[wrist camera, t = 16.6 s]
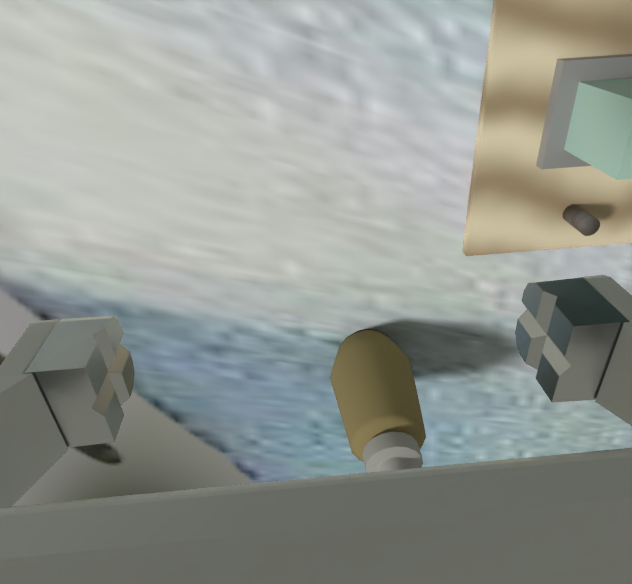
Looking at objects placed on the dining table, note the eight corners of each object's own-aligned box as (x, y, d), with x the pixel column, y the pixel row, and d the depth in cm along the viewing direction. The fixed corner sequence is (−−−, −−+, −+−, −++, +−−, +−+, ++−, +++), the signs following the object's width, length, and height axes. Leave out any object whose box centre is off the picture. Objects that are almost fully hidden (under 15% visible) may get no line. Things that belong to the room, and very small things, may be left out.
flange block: (557, 59, 36) (622, 76, 29) (662, 51, 36) (751, 68, 30) (536, 165, 40) (588, 202, 34) (630, 158, 41) (701, 193, 34)
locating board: (503, -71, 32) (529, -77, 29) (765, -86, 33) (821, -93, 30) (462, 250, 45) (477, 272, 42) (651, 235, 46) (680, 255, 43)
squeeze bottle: (406, 317, 49) (466, 468, 34) (400, 377, 53) (452, 535, 38) (326, 322, 49) (350, 477, 33) (327, 382, 53) (349, 544, 38)
